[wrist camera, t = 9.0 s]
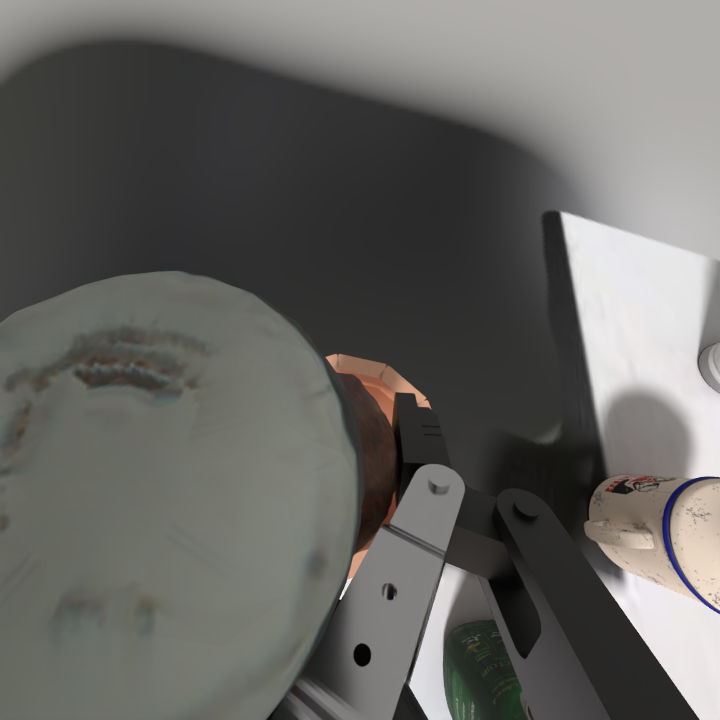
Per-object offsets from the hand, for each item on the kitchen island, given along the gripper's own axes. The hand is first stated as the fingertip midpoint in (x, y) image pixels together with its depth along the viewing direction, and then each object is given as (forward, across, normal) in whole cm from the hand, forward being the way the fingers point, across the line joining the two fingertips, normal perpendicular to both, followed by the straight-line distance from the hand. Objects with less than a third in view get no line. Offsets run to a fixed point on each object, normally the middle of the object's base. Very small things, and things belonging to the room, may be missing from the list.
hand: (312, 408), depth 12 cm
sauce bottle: (+6, 0, +9) cm, 11 cm away
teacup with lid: (+11, -27, +20) cm, 35 cm away
